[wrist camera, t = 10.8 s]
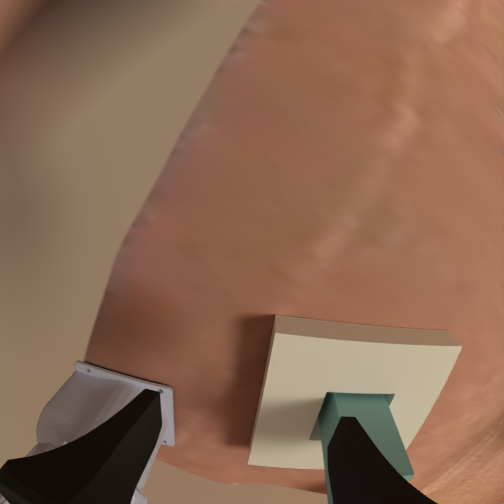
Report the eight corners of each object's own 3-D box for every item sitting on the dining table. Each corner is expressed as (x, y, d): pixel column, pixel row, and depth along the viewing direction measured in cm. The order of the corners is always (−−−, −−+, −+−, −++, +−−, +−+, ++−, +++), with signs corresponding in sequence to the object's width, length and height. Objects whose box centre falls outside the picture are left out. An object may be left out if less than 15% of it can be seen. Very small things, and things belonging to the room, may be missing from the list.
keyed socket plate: (249, 444, 25) (247, 464, 22) (275, 314, 21) (275, 332, 18) (389, 448, 24) (394, 465, 22) (448, 330, 20) (462, 346, 18)
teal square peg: (317, 411, 23) (328, 511, 13) (330, 375, 22) (351, 480, 12) (361, 412, 23) (386, 506, 13) (377, 377, 22) (414, 474, 12)
